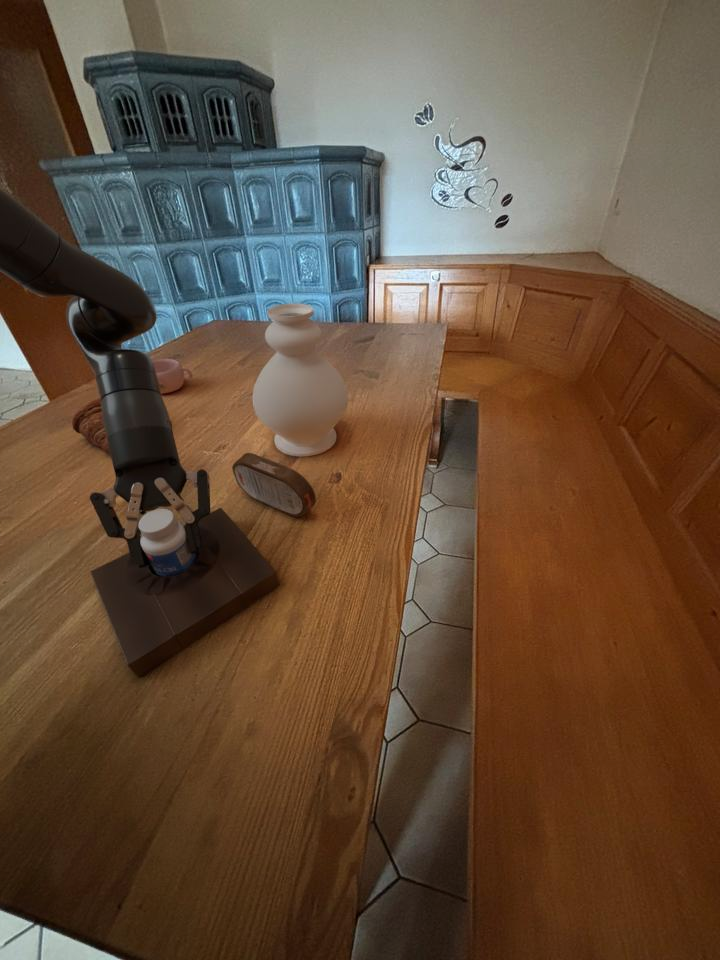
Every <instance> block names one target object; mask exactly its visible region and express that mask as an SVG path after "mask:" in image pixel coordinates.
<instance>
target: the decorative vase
mask: <svg viewBox="0 0 720 960" xmlns="http://www.w3.org/2000/svg"><path fill="white" fill-rule="evenodd" d="M314 311H315V310H314V307H313V306H311V305H310V304H306V303H298V302H297V303H295V302H293V303H283V304H278V305H274V306H271V307H269V308H268V309H267V310H266V313H267V317H268V319H269V320H272V322H271V323H270V324H269V325H268V326H267V328H266V330H265V332H264V339H265V342H266V343H267V345H268V346H269V347H270V348H271V349H273V350H274V351H276V352H275V353H274V354H273V355H272V356H271V357H270V359H269V360H268V361H267V362H266V364H265V365H264V366H263V368H262V369H261V371H260V373H259V375H258V376H257V378H256V381H255V382H254V386H253V389H252V397H251V398H252V399H251V400H252V406H253V411H254V413H255V415H256V417H257V418H258V420H259V421H260V422H261V423H262V425H264V426H265V427H266V428H267V429H269V430H270V431H272V432H273V433H274V434H275V435H274V438H273V442H274V444H275V447H276V449H277V450H278V451H279V452H281V453H283V454H284V455H288V456H292V457H301V458H302V457H303V458H304V457H311V456H312V457H313V456H316V455H320V454H322V453H325V452H327V451H328V450H329V449H331V448H332V447H333V446H334V445H335V443H336V441H337V433H336V430H335V429H334V427H335V426H336V425H337V424H339V422H340V420H341V419H342V417H343V416H344V415H345V413H346V410H347V408H348V405H349V404H348V402H349V394H348V388H347V385H346V382H345V381H344V379H343V377H342V375H341V374H340V373H339V371H338V370H337V369H336V368H335V367H334V365H333V364H332V363H331V362H330V361H329V360H328V359H326V358H325V357H324V356H323V355H322V354H320V353H319V352H318V351H316V349H315V348H316V347H317V345H318V344H319V343H320V341H321V339H322V331H321V329H320V327H319V326H318V324H317V323H316V322H315V321H314V320H312V319H311V317H313V316H314V314H315V313H314Z"/></svg>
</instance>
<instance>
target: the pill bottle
mask: <svg viewBox="0 0 720 960" xmlns="http://www.w3.org/2000/svg"><path fill="white" fill-rule="evenodd" d="M184 525H185V524H183V522H181V521H180V520H177V518H176V517H175V514H174V513H173V512H172V511H171V510H170V509H167V508H157V509H155V510H152V511H148V512H147V513H146V515H144V516H143V517H142V518H141V519H140V521H139V524H138V526H139V529H140V531H141V535H140V536H141V538H140V544H141V547H142V549H143V551H144V552H145V554H146V556H147V558H148V560H149V561H150V563H151V565H152V567H153V569H154V570H155V572H156V574H157V576H158V577H172V576H176V575H179V574H181V573H183V572H185V571H186V570H188V569H189V568H190V567H191V566H192V565H193V564H194V563H195V562H196V560H197V558H198V555H197V553H194V554H191V551H190V547H189V543H188V539H187V535H186V531H185V527H184Z"/></svg>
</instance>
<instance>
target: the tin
mask: <svg viewBox="0 0 720 960" xmlns="http://www.w3.org/2000/svg"><path fill="white" fill-rule="evenodd" d="M231 469H232V472H233V476H234V478H235V480H236V483H237V485H238V486H239V488H240V489H241V490H242V491H243V492H244V493H245V494H246V495H247V496H249V497H250V498H252V499H254V500H255V501H257V502H259V503H262V504H264V505H266V506H268V507H271V508H273V509H274V510H277V511H280V512H281V513H284V514H286V515H289V516H290V517H295V518H296V517H297V518H299V517H302V516H304V515H305V514H306V513H308V511H309V510H310V509H311V508H312V507H314V506H315V505H316V502H317V501H316V499H317V498H316V492H315V490H314V488H313V486H312V485H311V483H310V482H309V481H308V479H306V478H305V477H304V476H303V475H302V474H301V473H300V472H298V471H297V470H295V469H293V468H291V467H289V466H286V465H284V464H281V463H279V462H276V461H273V460H271V459H269V458H266V457H263V456H261V455H258V454H257V453H253V452H245V453H243V454H242V455H241V456H240V458H239V459H237V460H236V461H235V462H234V463H233V464H232V466H231Z"/></svg>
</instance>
